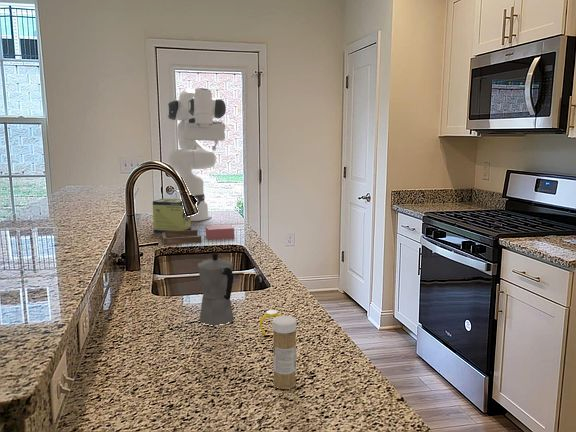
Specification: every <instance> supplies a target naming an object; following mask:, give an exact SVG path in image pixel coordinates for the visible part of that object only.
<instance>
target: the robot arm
mask: <svg viewBox="0 0 576 432" xmlns="http://www.w3.org/2000/svg"><path fill="white" fill-rule="evenodd" d="M165 108H166V109H165V112H166V116H167V118H168V119H169V120H172V121H179V123H178V124H177V128H176V129H177V130H176V134H177V141H178V145H179V148H180V149H176V150H171V151H170V153H169V154H168V157H167V161H168V164H169V166H170V167H171V168H172V167H173V168H174V169H173V168H172V169H173V170H175V171H176V172H177V173H178V175H179V174H180V175H181V176H182V178H183V179H184V181H185V183H186V185H187V187H188V189H189V191H190V193H191V194H192V195H194V197H195V198H196V199H197V208H198V211H199V213H198V214H196V215H194V216H191V222H198V221H206V220H209V219H212V216H211V215H209V209H208V203H207V202H206V201H205V198H206V197H205V196H206V195H205V192H204V191H205V190H204V181H203V178H201V177H200V176H199V175H196V174H193V171H192V170H207V169H210V168H213V167H214V166H215V164H216V161H217V158H216V154H215V152H214V151H216V150H217V145H218V144H219V142H220V141H221V142H223V141H225V139H226V133H225V130H226V123H224V122H222V121H215V120H214V119H221V118H223V117H224V116H225V114H226V109H227V105H226V103H225V101H224V100H223V99H222V98H220V97H217V98H214V97H213V94H212V90H211V89H210V88H207V87H196V88H195V89H191V88H186V89H184V90H182V91H181V92H180V94H179V99H176V98H174V99H173V100H171V101H169V102H168V103H167V105H166V107H165ZM200 141H207V142H208V141H213V142H214V146H213V145H212V146H211V147H212V150H211V149H209V148H207V147H205V146H204V145H203V144H202V143H201V142H200ZM180 175H179V176H180ZM181 176H180V177H181Z"/></svg>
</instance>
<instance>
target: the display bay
mask: <svg viewBox="0 0 576 432" xmlns="http://www.w3.org/2000/svg"><path fill="white" fill-rule="evenodd" d="M198 233H199V231H198V229H191V230H185V231H168V232H162V233H161V236H162V242H163V244H164V245H177V244H192V243H202V235H198Z"/></svg>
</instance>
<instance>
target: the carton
mask: <svg viewBox="0 0 576 432" xmlns="http://www.w3.org/2000/svg"><path fill="white" fill-rule="evenodd" d="M204 227H205V230H204V231H205V237H206V239H207V240H208V241H213V240H214V241H215V240H227V239H230V240H231V239H235V227H233V226H232V224H221V225H220V224H218V225H205V226H204Z"/></svg>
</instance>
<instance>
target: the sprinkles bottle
mask: <svg viewBox="0 0 576 432" xmlns="http://www.w3.org/2000/svg"><path fill="white" fill-rule="evenodd" d="M297 325H298V324H297V319H296V318H295V317H294V316H292V315H282V316H274V318H273V319H272V325H271V326H272V331H273V332H272V333H273V334H274V336H272V337H273V339H272V340H273V345H272V346H273V347H272V348H273V351H272V352H273V354H272V359H273V360H272V367H273V368H272V369H273V380H272V384H274V385H275V386H276V387H278V388H282V389H289V388H292V387H294V386H295V387H296V385H297V381H296V380H297V379H296V377H297V376H296V370H297V341H296V340H297V339H296V338H297V337H296V336H297V334H296V333H297V328H298V327H297ZM274 385H273V386H274ZM276 387H275V388H276ZM295 387H294V388H295ZM292 389H293V388H292ZM289 390H290V389H289Z"/></svg>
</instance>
